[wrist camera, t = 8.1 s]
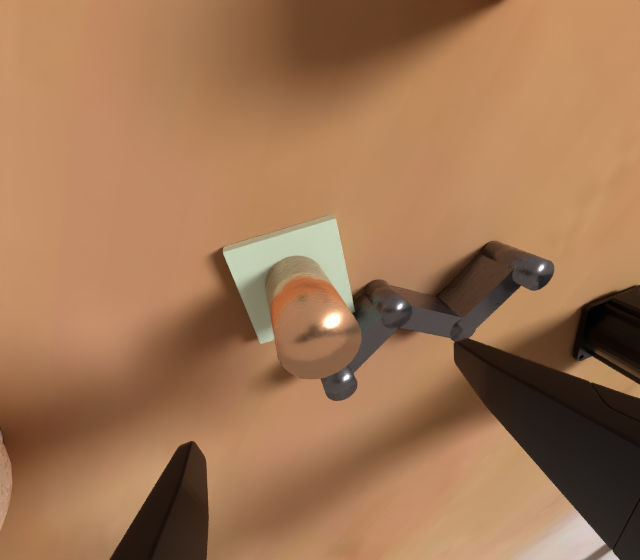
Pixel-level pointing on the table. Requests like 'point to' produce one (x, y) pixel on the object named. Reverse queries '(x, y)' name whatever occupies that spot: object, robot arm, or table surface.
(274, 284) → the cylinder
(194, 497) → the robot arm
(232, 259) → the pad
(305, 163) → the table surface
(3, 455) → the lidded bowl
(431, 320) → the dark grey zigzag bar
